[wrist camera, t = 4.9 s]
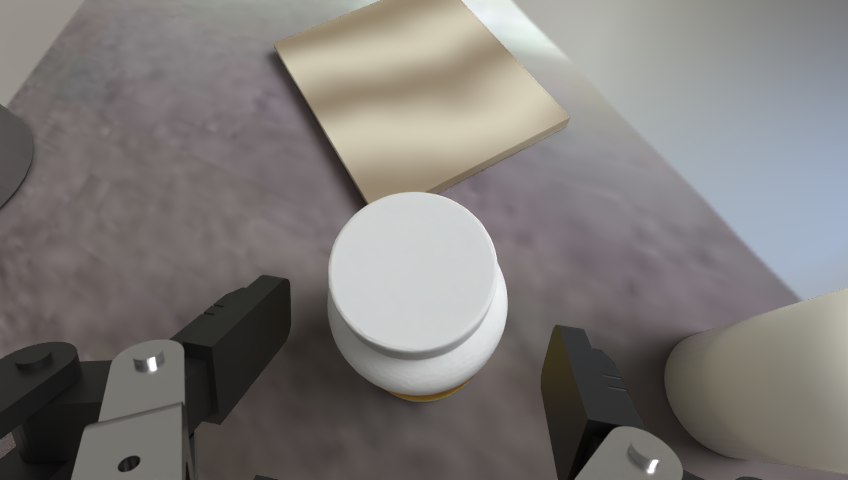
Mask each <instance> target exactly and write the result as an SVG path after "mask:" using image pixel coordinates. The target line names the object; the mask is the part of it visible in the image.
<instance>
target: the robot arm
mask: <svg viewBox="0 0 848 480" xmlns="http://www.w3.org/2000/svg"><path fill="white" fill-rule="evenodd" d="M33 149H34V148H33V139H32V135H31V133H30V130H29V128H28V126H27V125H26V124H25V123H24V122H23V121H22V120H21V119H20V118H19V117H18V116H16V115H15V114H13V113H12V112H11V111H9V110H8V109H6V108H5V107H4V106H2V105H1V104H0V207H1V206H2V205H3V204H4V203H5V202H6V201H7V200H8V199H9V198H10V197H11V195H12V194H13V193H14V192H15V191H16V189H17V188H18V186H19V185H20V183H21V182H22V180H23V179H24V177H25V175H26V173H27V171H28V168H29V166H30V164H31V160H32V154H33ZM290 327H291V298H290V282H289V280H288V279H285V278H279V277H274V276H268V275H262V276H260V277H259V278H258V279H256V280H255V281H254V282H253V283H252V284H250V285H249V286H248V287H247V288H240V289H238V290H236V291H233V292H231V293H229V294H226V295H225V296H223V297H222V298H221V299H220V300H218V301H217V302H216V303H215V304H214V306H211V307H210V308H208V309H207V310H206V311H205V312H204V314H201V315H200V316H198V317H197V318H196V319H195V320H193V321H192V322H191V323H190V324H188V325H187V326H186V327H185V328H183V329H182V330H181V331H180V332H178V333H177V334H176V335H175V336H173V337H172V338H171V339H170V340H163V339H161V340H151V341H146V342H143V343H139V344H136V345H134V346H132V347H130V348H127V349H126V350H124V351H122V352H121V353H120V354H119V355H117V356H116V357H115V358H114V360H110V361H86V362H80V361H79V357H78V353H77V349H76V348H75V346H73V345H72V344H69V343H65V342H48V343H41V344H37V345H32V346H29V347H26V348H23V349H20V350H18V351H15V352H13V353H11V354H9V355H7V356H5V357H4V358H2V359H0V439H2V438H3V437H4V436H6V435H7V434H8V433H10V432H12V435H13V438H14V441H15V443H16V447H15V448H13V449H12V450H11V451H10V452H9V453H7V454H6V455H5V456H4V457H2V458H1V459H0V480H198V475H197V450H196V434H195V429H196V428H197V427H198V425H199V424H200V423H201V422H202V421H205V422H209V423H214V424H219V425H220V424H221V423H222V422H223V421H224V419H225V418H226V417H227V415H228V414H229V413H230V412H231V410H232V409H233V408H234V407H235V405H236V404H237V403H238V401H239V400H240V399H241V398H242V396H243V395H244V394H245V393H246V391H247V390H248V389H249V387H250V386H251V385H252V384H253V382H254V381H255V380H256V379H257V377H258V376H259V375H260V373H261V372H262V371H263V370H264V368H265V367H266V366H267V365H268V363H269V362H270V361H271V359H272V358H273V357H274V356H275V354H276V353H277V352H278V351H279V349H280V348H281V347H282V345H283V344H284V343H285V341H286V339H287V337H288V335H289V331H290ZM541 392H542V397H543V402H544V408H545V413H546V418H547V423H548V429H549V434H550V439H551V445H552V450H553V455H554V460H555V466H556V471H557V476H558V480H704V479H702V478H700V477H697V476H695V475H693V474H691V473H689V472H687V471H685V470H683V468H682V465H681V462H680V460H679V459H678V457H677V456H676V454H675V453H674V452H673V451H672V449H671V448H670V447H669V446H668V445H666V444H665V443H664V442H663V441H662V440H660V439H659V438H657V437H656V436H654V435H652V434H650V433H648V432H647V431H646V429H645V427H644V425H643V422H642V420H641V418H640V416H639V414H638V412H637V410H636V408H635V406H634V403H633V401H632V399H631V397H630V395H629V393H628V392H626V387H625V384H624V382H623V380H621V376H620V374H619V372H618V370H617V368H616V365H615V363H614V362H613V361H612V360H611V359H610V358H609V357H608V356H607V355H606V354H605V353H604V352H603V351H602V350H598V349H592V348H591V345H590V343H589V341H588V338H587V336H586V333H585V331H584V330H583V329H579V328H573V327H567V326H561V325H555V327H554V329H553V332H552V335H551V339H550V342H549V346H548V350H547V354H546V357H545V361H544V365H543V369H542V375H541ZM253 480H277V479H273V478H268V477H263V476H259V475H256V476H255V478H254V479H253ZM736 480H762V479H758V478H754V477H739V478H737V479H736Z"/></svg>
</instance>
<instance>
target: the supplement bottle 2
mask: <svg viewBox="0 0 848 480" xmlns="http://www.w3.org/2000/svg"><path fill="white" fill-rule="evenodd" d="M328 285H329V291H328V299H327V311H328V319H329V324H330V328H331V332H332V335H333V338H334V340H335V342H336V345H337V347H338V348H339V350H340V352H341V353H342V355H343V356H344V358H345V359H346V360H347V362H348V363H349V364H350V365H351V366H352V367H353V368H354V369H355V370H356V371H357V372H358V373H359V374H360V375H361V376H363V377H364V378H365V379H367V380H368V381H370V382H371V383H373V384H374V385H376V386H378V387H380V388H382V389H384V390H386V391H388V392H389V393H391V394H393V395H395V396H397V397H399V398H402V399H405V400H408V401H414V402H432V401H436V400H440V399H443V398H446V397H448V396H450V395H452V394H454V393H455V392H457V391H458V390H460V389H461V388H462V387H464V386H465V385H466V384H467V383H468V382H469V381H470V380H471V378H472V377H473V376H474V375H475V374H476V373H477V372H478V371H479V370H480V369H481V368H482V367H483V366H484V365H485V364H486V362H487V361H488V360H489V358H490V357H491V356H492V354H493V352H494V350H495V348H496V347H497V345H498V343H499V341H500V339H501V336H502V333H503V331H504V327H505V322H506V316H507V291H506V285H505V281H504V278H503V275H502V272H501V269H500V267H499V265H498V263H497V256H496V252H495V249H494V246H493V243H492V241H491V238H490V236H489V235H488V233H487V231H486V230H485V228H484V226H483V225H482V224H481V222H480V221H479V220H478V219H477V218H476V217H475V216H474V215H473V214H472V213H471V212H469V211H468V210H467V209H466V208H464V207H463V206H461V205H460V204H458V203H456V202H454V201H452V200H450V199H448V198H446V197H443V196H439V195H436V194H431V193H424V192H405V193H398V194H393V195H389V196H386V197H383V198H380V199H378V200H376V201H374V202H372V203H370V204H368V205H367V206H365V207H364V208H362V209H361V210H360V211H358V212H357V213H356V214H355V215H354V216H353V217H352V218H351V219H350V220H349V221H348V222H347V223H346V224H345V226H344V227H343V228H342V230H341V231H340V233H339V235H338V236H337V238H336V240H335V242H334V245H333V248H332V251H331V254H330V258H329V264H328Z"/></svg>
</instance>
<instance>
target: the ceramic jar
mask: <svg viewBox="0 0 848 480" xmlns="http://www.w3.org/2000/svg"><path fill="white" fill-rule="evenodd" d="M664 383H665V390H666V394H667V398H668V401H669V403H670V406H671V408H672V410H673V412H674V414H675V416H676V417H677V419H678V420H679V422H680V423H681V424H682V426H683V427H684V428H685V430H686V431H687V432H688V433H689V434H690V435H691V436H692V437H693V438H695V439H696V440H697V441H698V442H699V443H701V444H702V445H704V446H705V447H707V448H708V449H710V450H712V451H714V452H716V453H718V454H721V455H724V456H727V457H731V458H736V459H743V460H750V461H757V462H764V463H771V464H779V465H786V466H793V467H800V468H807V469H814V470H821V471H828V472H835V473H842V474H848V288H844V289H841V290H838V291H835V292H831V293H828V294H825V295H822V296H818V297H815V298H812V299H808V300H805V301H802V302H799V303H796V304H792V305H789V306H786V307H783V308H779V309H776V310H773V311H770V312H766V313H763V314H760V315H757V316H754V317H750V318H747V319H744V320H741V321H737V322H734V323H731V324H728V325H724V326H721V327H718V328H715V329H711V330H708V331H705V332H702V333H699V334H695V335H692V336H689V337H688V338H686V339H684V340H682V341H681V342H680V343H678V344H677V345H676V346H675V347H674V349H673V350H672V352H671V353H670V355H669V357H668V359H667V363H666V366H665V372H664Z"/></svg>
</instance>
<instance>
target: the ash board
mask: <svg viewBox="0 0 848 480" xmlns="http://www.w3.org/2000/svg"><path fill="white" fill-rule="evenodd" d="M273 45H274V47H275V49H276V52H277V54H278V56H279V57H280V59H281V61H282V62H283V64H284V66H285V67H286V69H287V71H288V72H289V74H290V76H291V78H292V79H293V81H294V83H295V84H296V86H297V88H298V89H299V91H300V93H301V94H302V96H303V98H304V99H305V101H306V103H307V104H308V106H309V108H310V110H311V111H312V113H313V115H314V116H315V118H316V120H317V121H318V123H319V125H320V126H321V128H322V130H323V131H324V133H325V135H326V137H327V138H328V140H329V142H330V143H331V145H332V147H333V148H334V150H335V152H336V153H337V155H338V157H339V158H340V160H341V162H342V163H343V165H344V167H345V169H346V170H347V172H348V174H349V175H350V177H351V179H352V180H353V182H354V184H355V185H356V187H357V189H358V190H359V192H360V194H361V195H362V197H363V199H364V201H365V202H366V204H367V205H368V204H370V203H372V202H374V201H376V200H378V199H380V198H383V197H386V196H389V195H393V194H398V193H405V192H424V193H431V194H437V193H439V192H441V191H443V190H445V189H447V188H449V187H451V186H453V185H455V184H457V183H459V182H460V181H462V180H464V179H466V178H468V177H470V176H472V175H474V174H476V173H478V172H480V171H482V170H484V169H486V168H488V167H490V166H491V165H493V164H495V163H497V162H499V161H501V160H503V159H505V158H507V157H509V156H511V155H513V154H515V153H517V152H519V151H521V150H522V149H524V148H526V147H528V146H530V145H532V144H534V143H536V142H538V141H540V140H542V139H544V138H546V137H548V136H550V135H552V134H554V133H555V132H557V131H559V130H561V129H563V128H565V127H566V126H567V124H568V121H569V119H570V117H569V116H568V114H567V113H566V112H565V111H564V110H563V109H562V108H561V107H560V106H559V105H558V104H557V103H556V102H555V101H554V99H553V98H552V97H551V96H550V95H549V94H548V93H547V92H546V91H545V90H544V89H543V88H542V87H541V86H540V84H539V83H538V82H537V81H536V80H535V79H534V78H533V77H532V76H531V75H530V74H529V73H528V72H527V70H526V69H525V68H524V67H523V66H522V65H521V64H520V63H519V62H518V61H517V60H516V59H515V58H514V57H513V55H512V54H511V53H510V52H509V51H508V50H507V49H506V48H505V47H504V46H503V45H502V44H501V43H500V41H499V40H498V39H497V38H496V37H495V36H494V35H493V34H492V33H491V32H490V31H489V30H488V29H487V28H486V26H485V25H484V24H483V23H482V22H481V21H480V20H479V19H478V18H477V17H476V16H475V15H474V14H473V13H472V11H471V10H470V9H469V8H468V7H467V6H466V5H465V4H464V3H463V2H462V1H461V0H380V1H378V2H375V3H373V4H370V5H368V6H365V7H363V8H360V9H358V10H355V11H353V12H350V13H348V14H345V15H343V16H340V17H338V18H335V19H333V20H330V21H327V22H325V23H322V24H320V25H317V26H315V27H312V28H310V29H307V30H305V31H302V32H300V33H297V34H295V35H292V36H290V37H287V38H285V39H282V40H280V41H277V42H275V43H273Z"/></svg>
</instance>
